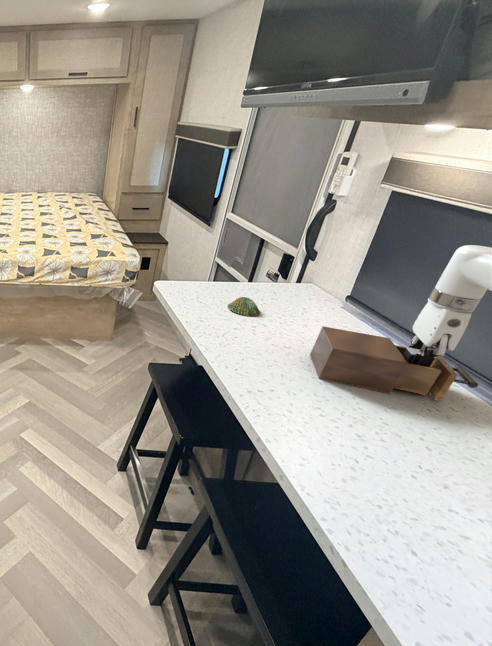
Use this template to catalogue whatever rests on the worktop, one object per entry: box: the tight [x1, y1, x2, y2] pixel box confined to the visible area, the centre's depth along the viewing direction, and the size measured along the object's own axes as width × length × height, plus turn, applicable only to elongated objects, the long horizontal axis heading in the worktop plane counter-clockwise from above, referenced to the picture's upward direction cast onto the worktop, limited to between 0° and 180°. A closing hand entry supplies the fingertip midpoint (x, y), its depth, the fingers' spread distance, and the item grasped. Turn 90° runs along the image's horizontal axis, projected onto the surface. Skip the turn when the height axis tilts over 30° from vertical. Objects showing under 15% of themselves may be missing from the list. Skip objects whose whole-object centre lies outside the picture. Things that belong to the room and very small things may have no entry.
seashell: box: [227, 296, 261, 317], centre depth 140 cm, size 10×4×10 cm
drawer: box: [393, 344, 479, 401], centre depth 100 cm, size 19×11×8 cm, turn 63°
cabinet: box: [309, 326, 408, 395], centre depth 105 cm, size 15×13×10 cm
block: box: [402, 346, 436, 367], centre depth 99 cm, size 4×3×4 cm
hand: (414, 363), depth 100 cm, fingers closed on block, 3 cm apart
